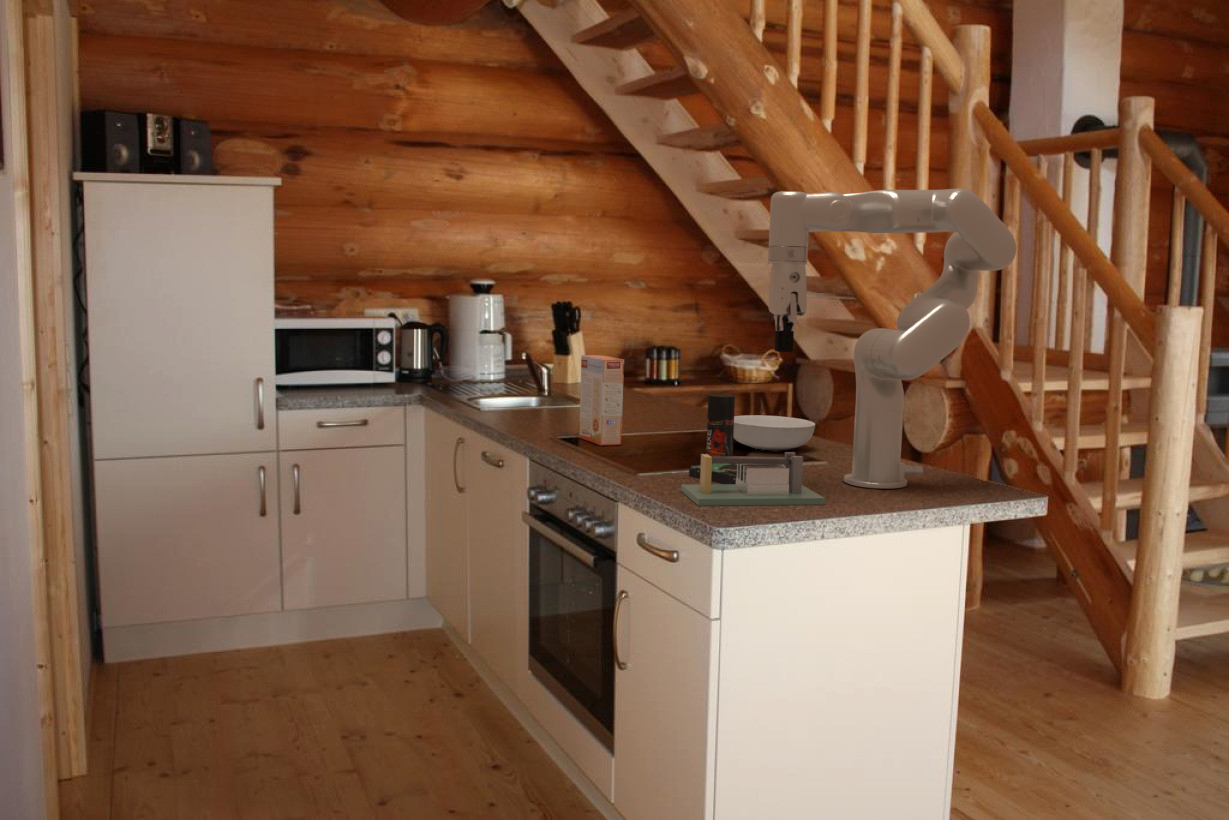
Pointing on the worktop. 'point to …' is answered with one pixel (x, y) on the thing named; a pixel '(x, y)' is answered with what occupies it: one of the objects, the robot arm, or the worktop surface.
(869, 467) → the robot arm
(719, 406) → the deodorant
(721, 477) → the disk drive
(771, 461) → the strap
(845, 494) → the worktop surface
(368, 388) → the worktop surface
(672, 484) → the worktop surface
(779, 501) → the board
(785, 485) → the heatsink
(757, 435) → the serving bowl
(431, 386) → the worktop surface
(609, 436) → the cracker box
